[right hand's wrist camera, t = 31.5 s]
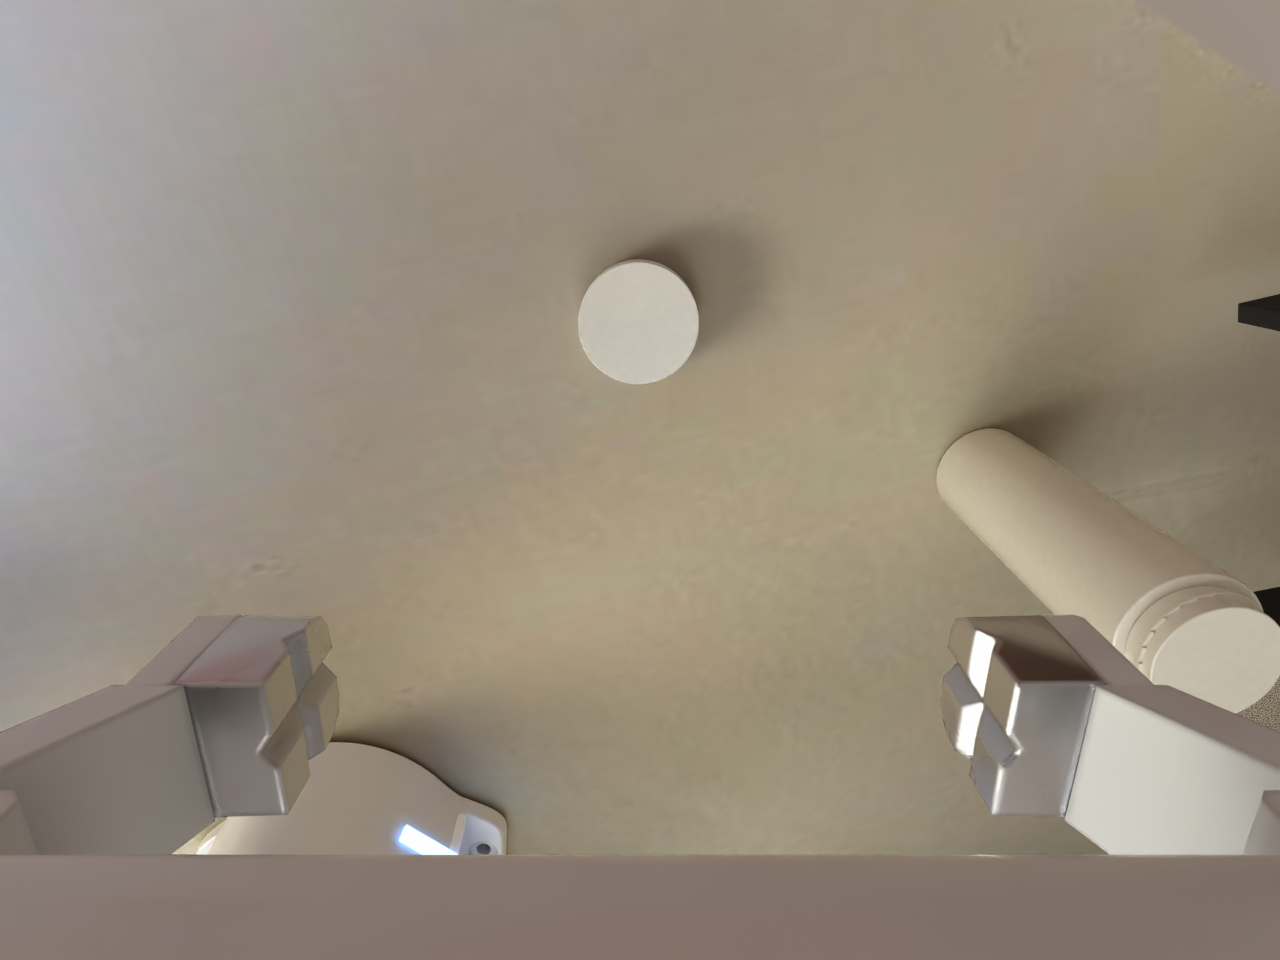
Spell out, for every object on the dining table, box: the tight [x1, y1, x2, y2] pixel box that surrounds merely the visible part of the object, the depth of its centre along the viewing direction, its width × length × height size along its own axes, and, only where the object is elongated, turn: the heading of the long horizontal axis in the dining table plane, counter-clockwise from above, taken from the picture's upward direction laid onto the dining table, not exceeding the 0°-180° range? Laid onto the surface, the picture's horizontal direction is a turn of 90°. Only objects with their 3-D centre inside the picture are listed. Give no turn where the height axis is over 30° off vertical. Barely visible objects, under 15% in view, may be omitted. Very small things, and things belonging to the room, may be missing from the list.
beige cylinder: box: [936, 429, 1280, 714], centre depth 32 cm, size 5×5×17 cm
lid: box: [578, 259, 699, 384], centre depth 36 cm, size 6×6×2 cm
